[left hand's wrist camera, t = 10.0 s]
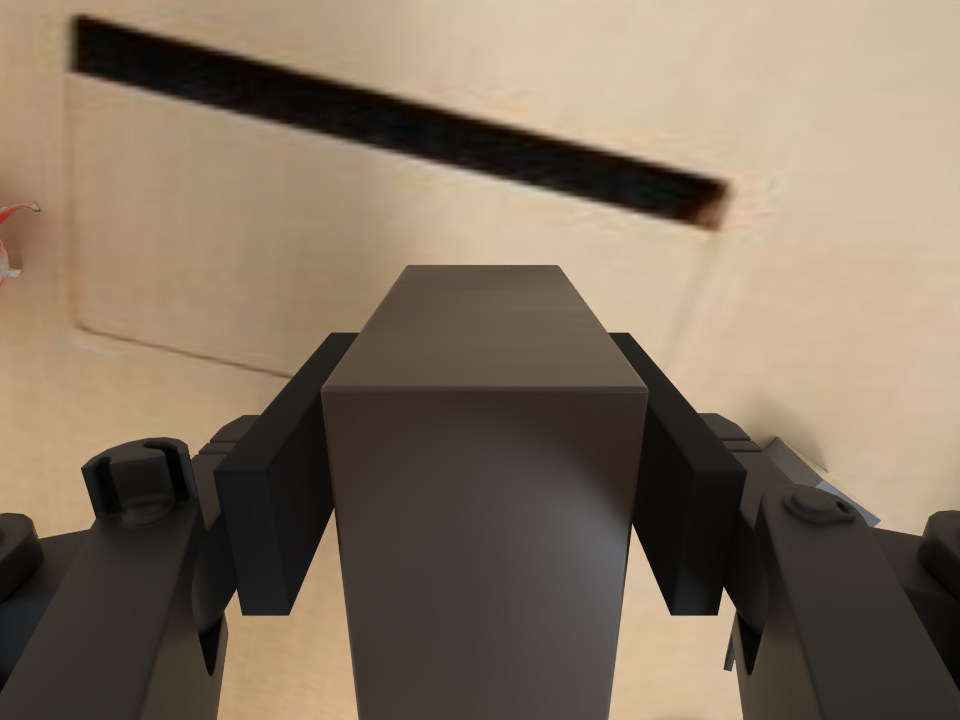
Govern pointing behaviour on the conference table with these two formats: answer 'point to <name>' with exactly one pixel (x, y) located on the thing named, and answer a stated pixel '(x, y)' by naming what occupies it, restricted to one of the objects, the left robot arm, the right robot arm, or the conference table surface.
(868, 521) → the cube
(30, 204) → the fish
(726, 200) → the conference table surface
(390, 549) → the plank
